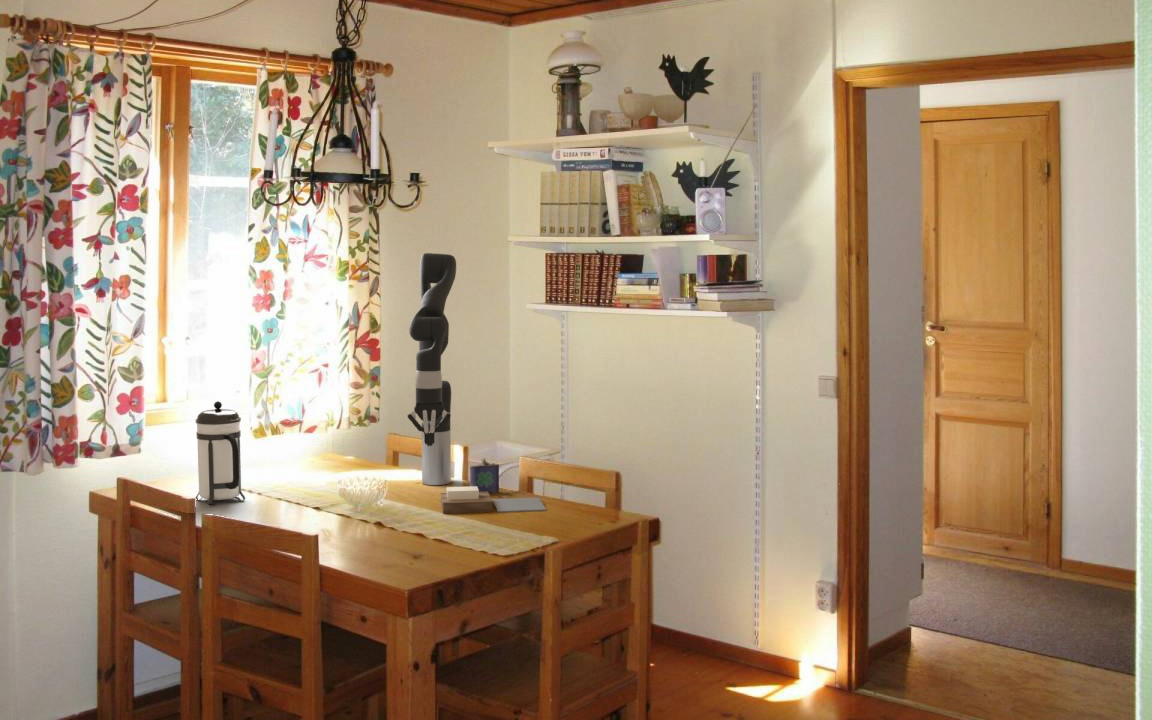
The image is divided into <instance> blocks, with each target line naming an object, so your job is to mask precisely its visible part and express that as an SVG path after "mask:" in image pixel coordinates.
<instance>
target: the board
mask: <svg viewBox="0 0 1152 720" xmlns="http://www.w3.org/2000/svg"><path fill="white" fill-rule="evenodd" d="M440 504H441V510H442V514H466V513H471V514H472V513H493V499H492V498H491V494H489V493H488V491H487V492H479V499H462V500H448V499H447V492H440Z"/></svg>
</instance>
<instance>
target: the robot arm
mask: <svg viewBox="0 0 1152 720" xmlns="http://www.w3.org/2000/svg"><path fill="white" fill-rule="evenodd" d="M456 275H457V261H456V258H455V256H453V255H452V254H449V253H448V254H446V253H430V252H428V253H427V252H426V253H422V255H421V257H420V262H419V287H420V289H419V291H420V293H419V294H420V305H419V309H418V311H417V312H416V313H415V315H414V316H413V317H412V319H411V321H410V324H409V329H408V330H409V331H408V333H409V335H410V337H411V338H412V339H413V340H414V341H415V342H419V343H418V348H419V349H418V351H417V352H416V354H415V355H416V356H415V358H416V359H415V361H416V366H415V367H416V369H415V370H416V371H415V384H414V385H415V406H414V408H413V410H412V411H411V412H410V413H408V414H407V418H408V419H409V421H410V422H411V423H412V424H413V426H414V427H415V428H416V429H417V430H418V431H419V432H421V467H422V468H421V470H422V471H421V477H422V478H421V481H422V485H423V484H424V485H427V486H442V485H443V486H444V485H448V484H450V483H452V471H451V470H452V461H451V460H452V458H451V457H452V455H451V453H452V451H451V450H452V449H451V446H452V445H451V444H452V443H451V416H452V415H451V407H452V387H451V383H450V382H449V381H448V380H443V379H442V377H443V376H442V375H443V374H442V355H443V354H444V352H445V351H446V349H447V347H448V344H449V331H450V325H449V321H448V318H447V316H446V315H445V307H446V302H447V299H448V297H449V294H450V292H451V290H452V287H453V285H454V282H455V280H456ZM432 284H434V285H433V286H432ZM417 416H418V418H419V419H420V420H421V421H422V422H421V424H420V423H419V421H418V420H417Z"/></svg>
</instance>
